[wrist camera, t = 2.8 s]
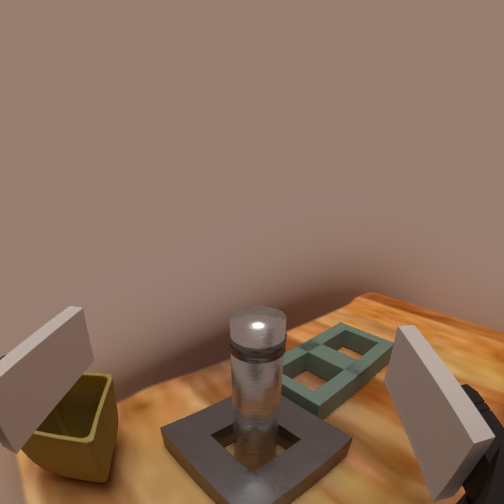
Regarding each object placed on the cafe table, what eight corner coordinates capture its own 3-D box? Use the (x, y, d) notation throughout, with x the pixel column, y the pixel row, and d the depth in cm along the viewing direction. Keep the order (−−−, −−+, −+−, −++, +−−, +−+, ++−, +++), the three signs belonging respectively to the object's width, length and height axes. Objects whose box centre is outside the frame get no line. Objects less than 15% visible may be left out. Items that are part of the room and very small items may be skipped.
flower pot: (123, 502, 19) (91, 441, 17) (40, 487, 18) (-1, 424, 16) (132, 438, 28) (113, 373, 25) (61, 430, 26) (35, 367, 24)
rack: (390, 360, 42) (394, 343, 42) (315, 424, 31) (319, 405, 30) (338, 338, 50) (340, 322, 49) (255, 385, 38) (255, 367, 37)
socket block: (346, 455, 26) (352, 437, 25) (247, 532, 18) (247, 519, 17) (260, 400, 35) (260, 381, 35) (164, 446, 27) (160, 427, 26)
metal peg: (285, 457, 26) (299, 318, 22) (252, 479, 24) (255, 338, 20) (256, 436, 29) (260, 300, 25) (224, 454, 27) (216, 315, 23)
